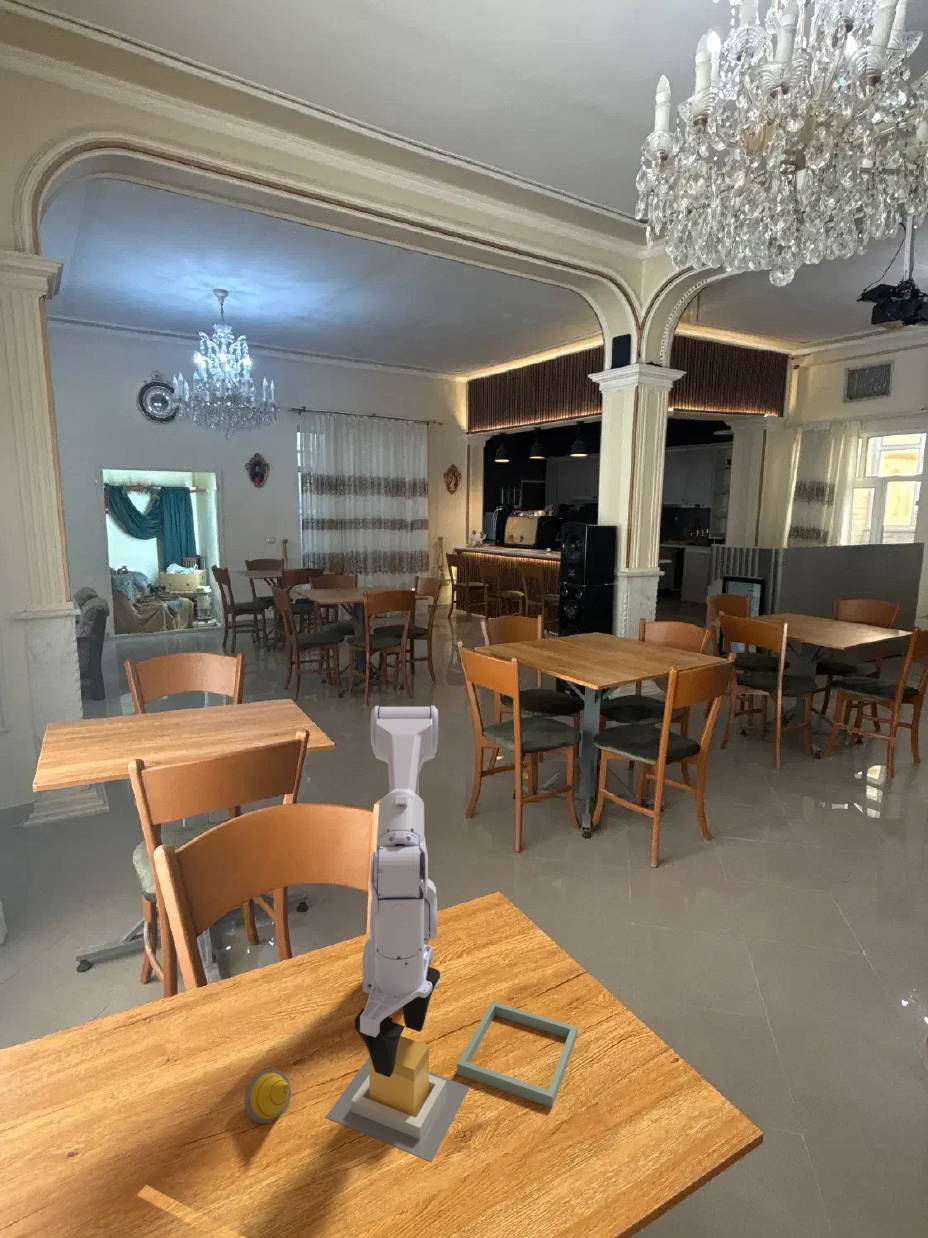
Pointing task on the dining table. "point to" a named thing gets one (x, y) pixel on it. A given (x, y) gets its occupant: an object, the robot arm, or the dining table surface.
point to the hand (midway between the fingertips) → (399, 1049)
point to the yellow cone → (267, 1096)
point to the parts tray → (508, 1082)
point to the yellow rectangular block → (403, 1079)
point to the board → (400, 1114)
